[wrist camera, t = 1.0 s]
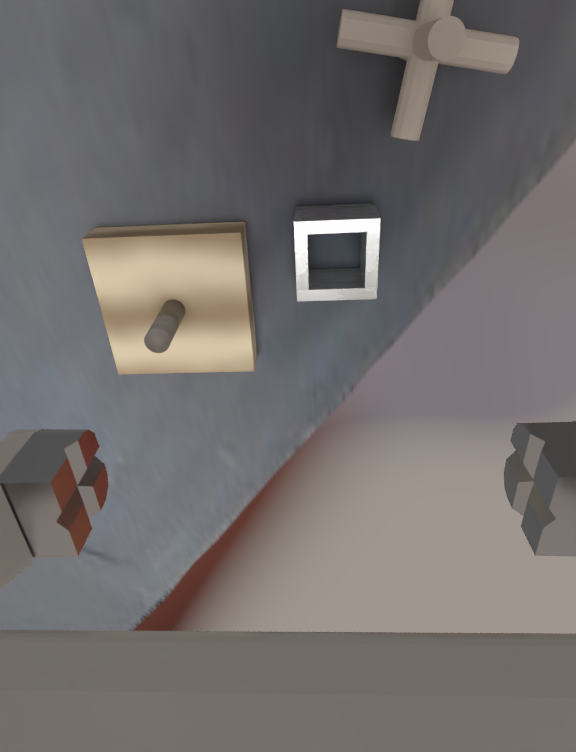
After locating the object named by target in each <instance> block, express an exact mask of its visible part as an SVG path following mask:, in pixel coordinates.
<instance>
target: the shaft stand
mask: <svg viewBox="0 0 576 752" xmlns="http://www.w3.org/2000/svg"><path fill="white" fill-rule="evenodd" d="M82 242H83V245H84V249H85V253H86V256H87V260H88V264H89V267H90V271H91V275H92V278H93V282H94V286H95V289H96V293H97V297H98V300H99V304H100V308H101V311H102V315H103V319H104V322H105V326H106V330H107V333H108V337H109V341H110V344H111V348H112V352H113V355H114V359H115V363H116V366H117V370H118V374H152V373H194V372H236V371H255V365H256V359H257V344H256V333H255V322H254V312H253V301H252V291H251V280H250V269H249V259H248V248H247V237H246V227H245V222H222V223H197V224H172V225H147V226H123V227H98V228H95V229H94V230H92V231H91V232H90V233H89V234H87V235H86V236H85V237H83V238H82Z"/></svg>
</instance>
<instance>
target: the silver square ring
mask: <svg viewBox="0 0 576 752" xmlns="http://www.w3.org/2000/svg"><path fill="white" fill-rule="evenodd" d="M380 219H381V218H380V216H379V214H378V212H377V210H376V207H375V205H374V203H364V204H340V205H316V206H295V214H294V238H295V261H296V285H297V301H326V300H358V299H377V280H378V260H379V239H380ZM352 232H361V242H360V268H331V269H309V265H308V234H326V233H352Z"/></svg>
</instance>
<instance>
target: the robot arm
mask: <svg viewBox="0 0 576 752" xmlns="http://www.w3.org/2000/svg"><path fill="white" fill-rule="evenodd" d="M511 442H512V444H513V446H514V448H515V449H516V451H515V452H514V453H513V454H512V455H511V456H510V457H508V458H507V459H506V465H505V470H504V485H505V491H506V494H507V498H508V500H509V502H510V505H511V507H512V508H513V509H514V510H516V511H517V512H518V513H520V514H521V515H523V516H524V517H523V520H522V525H521V527H522V529H523V532H524V534H525V536H526V537H527V540H528V541H529V544H530V546H531V548H532V550H533V552H534V554H535V555H540V556H541V555H543V556H576V421H572V422H547V423H517V425H516V426H515V428H514V429H513V433H512V437H511ZM98 448H99V444H98V441H97V438H96V435H95V433H94V432H92V431H90V430H65V429H41V430H38V429H33V430H15V431H12V432H9V434H8V435H7V436H6V437H5V438H4V439H3V440H2V442H1V443H0V589H1V588H2V587H4V586H5V585H6V584H7V583H8V582H9V581H10V580H12V579H13V578H14V577H15V576H16V575H17V574H18V573H20V572H21V571H22V570H23V569H24V568H25V567H27V566H28V565H29V564H30V563H31V562H32V561H33V560H34V558H42V557H74V556H79V554H80V552H81V550H82V548H83V546H84V544H85V542H86V540H87V538H88V536H89V534H90V532H91V530H92V527H91V524H90V521H89V519H91V518H92V517H93V516H95V515H96V514H97V513H99V512H100V511H101V509H102V507H103V505H104V503H105V501H106V497H107V491H108V474H107V470H106V467H105V464H104V463H103V462H101V461H100V460H99V459H98V458H97V457H96V456H95V454H96V452H97V450H98ZM0 752H576V634H542V633H393V632H388V633H387V632H231V631H230V632H227V631H226V632H224V631H222V632H220V631H65V630H0Z"/></svg>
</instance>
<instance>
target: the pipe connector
mask: <svg viewBox="0 0 576 752" xmlns="http://www.w3.org/2000/svg"><path fill="white" fill-rule="evenodd" d="M453 2H454V0H420V4H419V9H418V13H417V18H416V21H415V20H409V19H403V18H397V17H391V16H385V15H378V14H372V13H366V12H360V11H354V10H348V9H343V10H342V14H341V19H340V25H339V32H338V39H337V48H343V49H349V50H356V51H362V52H368V53H375V54H381V55H387V56H394V57H400V58H402V59H403V60H405V61H407V63H406V68H405V72H404V77H403V81H402V86H401V90H400V95H399V99H398V104H397V108H396V113H395V117H394V122H393V126H392V131H391V136H392V137H396V138H400V139H406V140H413V141H419V138H420V134H421V130H422V126H423V122H424V118H425V114H426V110H427V106H428V102H429V98H430V94H431V90H432V86H433V82H434V78H435V74H436V70H437V66H438V64H444V65H450V66H457V67H463V68H469V69H476V70H482V71H488V72H494V73H501V74H506V73H508V72H509V71H510V69H511V67H512V66H513V64H514V61H515V59H516V56H517V52H518V48H519V39H518V38H517V37H514V36H508V35H502V34H496V33H490V32H483V31H477V30H471V29H465V27H464V24H463V23H462V21H461V20H460V19H458V18H457V17H454V16H450V14H451V10H452V6H453Z"/></svg>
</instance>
